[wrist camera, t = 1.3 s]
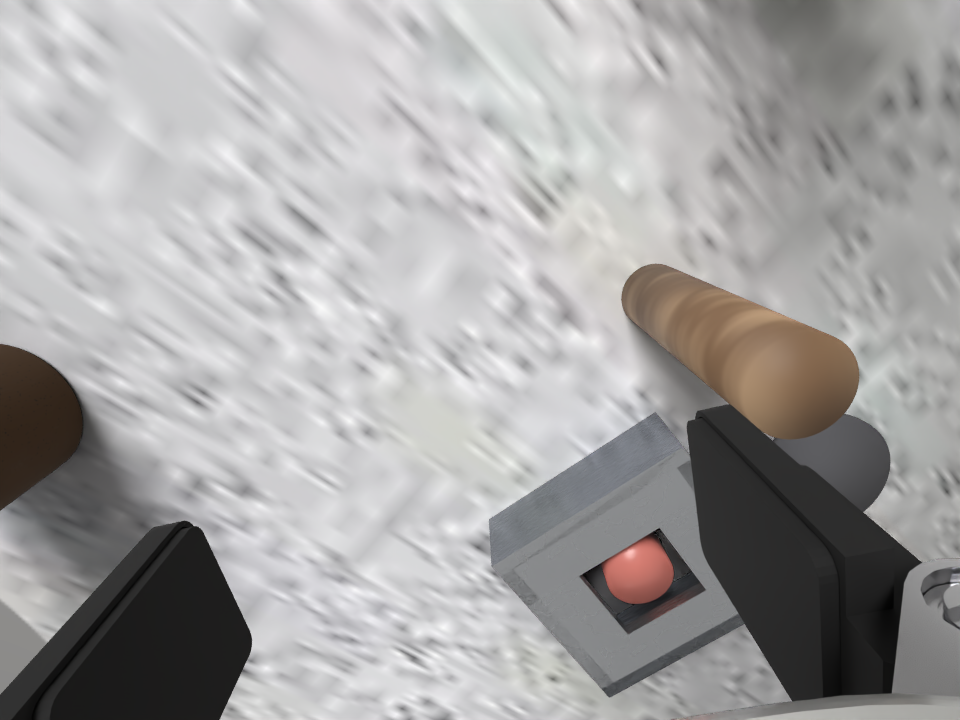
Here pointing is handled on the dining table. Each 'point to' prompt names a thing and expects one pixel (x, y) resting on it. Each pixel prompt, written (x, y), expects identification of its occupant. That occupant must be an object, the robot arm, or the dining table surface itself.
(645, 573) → the pink rounded dome
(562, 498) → the grey square holed block
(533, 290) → the dining table surface
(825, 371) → the tan wooden rod
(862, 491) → the coaster
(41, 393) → the olive oil
